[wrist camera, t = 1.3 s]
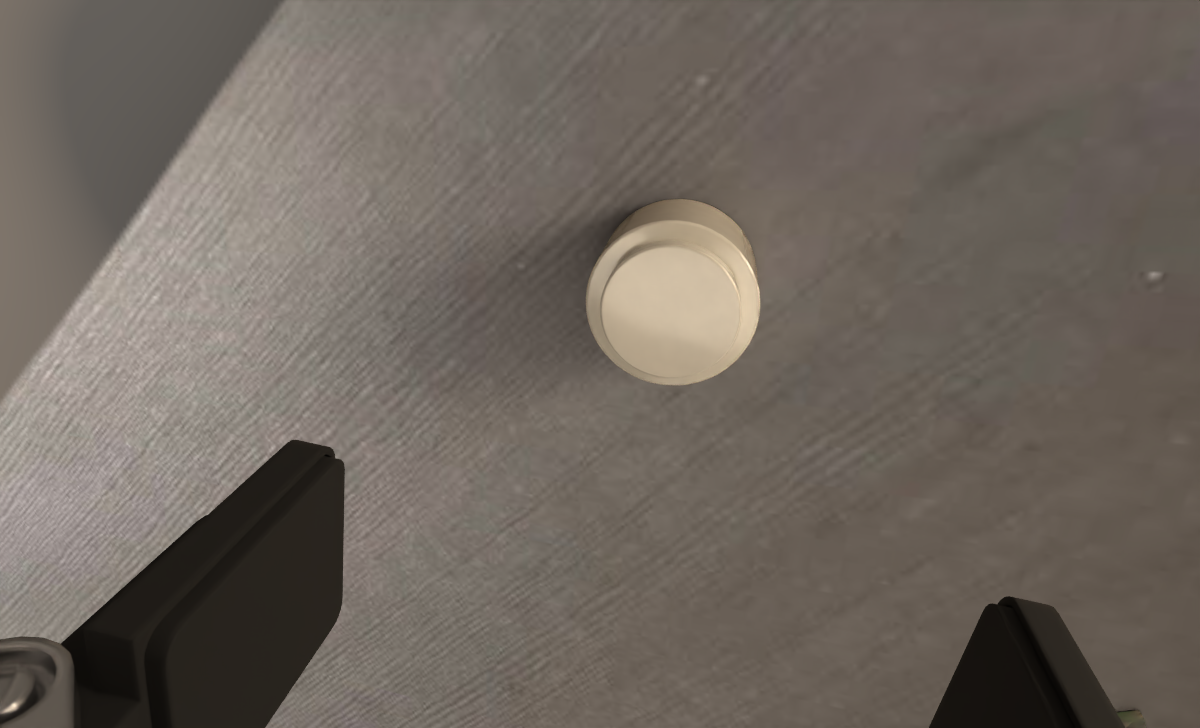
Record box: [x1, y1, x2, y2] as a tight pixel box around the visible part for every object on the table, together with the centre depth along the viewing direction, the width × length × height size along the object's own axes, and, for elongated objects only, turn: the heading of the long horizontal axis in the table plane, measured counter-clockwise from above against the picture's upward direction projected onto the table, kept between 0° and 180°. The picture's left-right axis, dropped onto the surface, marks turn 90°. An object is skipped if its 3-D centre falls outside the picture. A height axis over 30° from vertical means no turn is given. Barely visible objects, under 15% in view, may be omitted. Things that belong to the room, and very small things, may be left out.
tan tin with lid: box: [586, 199, 760, 385], centre depth 22 cm, size 5×5×4 cm
